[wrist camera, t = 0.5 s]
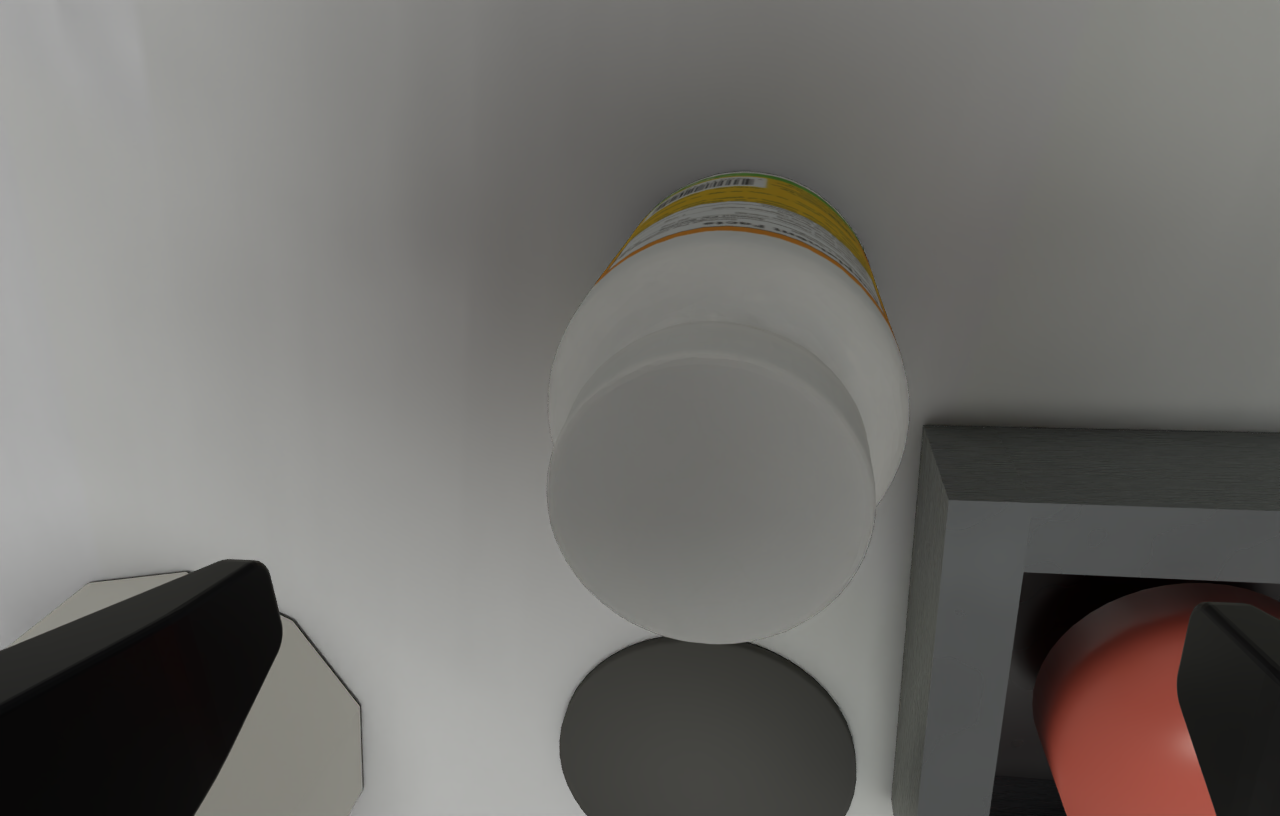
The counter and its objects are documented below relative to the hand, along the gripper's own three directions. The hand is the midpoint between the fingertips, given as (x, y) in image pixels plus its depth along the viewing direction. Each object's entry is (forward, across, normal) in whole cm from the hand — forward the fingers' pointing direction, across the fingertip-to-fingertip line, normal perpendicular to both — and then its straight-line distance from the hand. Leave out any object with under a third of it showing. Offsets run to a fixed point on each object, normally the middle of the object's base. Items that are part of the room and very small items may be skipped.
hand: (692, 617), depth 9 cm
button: (+10, -9, +9) cm, 16 cm away
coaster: (+12, +1, +13) cm, 18 cm away
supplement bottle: (+12, 0, 0) cm, 12 cm away
